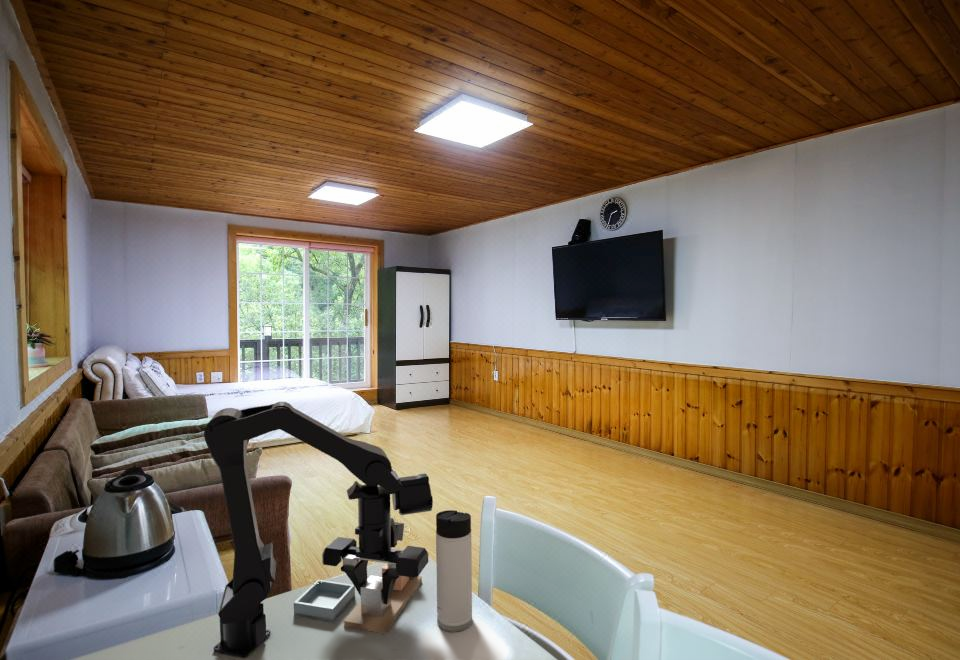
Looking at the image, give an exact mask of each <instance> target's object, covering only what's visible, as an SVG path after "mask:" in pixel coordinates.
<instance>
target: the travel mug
mask: <svg viewBox="0 0 960 660" xmlns="http://www.w3.org/2000/svg"><path fill="white" fill-rule="evenodd" d="M471 517H472V516H471V515H470V513H468V512H462V511H458V510H453V509H452V510H450V509H449V510H443V511H442V510H441V511H439V512H438V513H436V515H435V526H436V530H435V533H436V535H435V548H436V550H435V551H436V553H435V554H436V613H437V614H436V618H437V619H436V620H437V621H436V622H437V625H438V626H439V627H440V628H441V629H442V630H444V631H447V632H453V633H454V632H456V633H457V632H461V631H464V630H466V629H467V628H469V627H470V626H471V624H472V623H473V583H472V581H473V580H472V579H473V578H472V577H473V575H472V573H473V572H472V571H473V569H472V568H473V567H472V566H473V565H472V564H473V562H472V518H471Z"/></svg>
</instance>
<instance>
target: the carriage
mask: <svg viewBox="0 0 960 660" xmlns="http://www.w3.org/2000/svg"><path fill="white" fill-rule="evenodd" d="M360 601H361V614H364V615H371V616H377V617H382V616H383V615H384V613H385V612H386V610H387V609H388V608H389V606H390V605H391V598H390V601H389V603H388V604H385V602H384V597H383V583H382V577H381V576H377V575H370V576H369V577H367V580H366V582H365V583H364V584H363V585H362V586H361V596H360Z"/></svg>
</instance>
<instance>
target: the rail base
mask: <svg viewBox="0 0 960 660" xmlns="http://www.w3.org/2000/svg"><path fill="white" fill-rule="evenodd" d="M395 551H404V549H403V550H402V549H395V548H391V552H395ZM380 577H382V575H381V576H380ZM422 579H423V577H422V576H421V575H419V576H418V577H414V578H413V577H409V581H408V582H407V583H406V585H405V586H404V587H403V589H402V590H401V591H400V590H393V591H392V595H391V605H390V606H389V608H388V609H387V610H386V612H385V613H384V615H383V616H382V617H377V616H371V615H364V614H361V600H360V601H359V603H358V604H357V605H356V606H355V607H354V608H353V610H352V611H351V612H350V613H349V615H348V616H347V617H346V618H345V619H344V621H343V627H346V628H351V629H357V630H363V631H369V632H373V633H374V632H375V633H379V634H385V635H386V634H387V633H388V631H389V630H390V628H391V627H392V626H393V624H394V622H395V621H396V620H397V618H398V617H399V615H400V614H401V612H402V611H403V609H404V608H405V606H406V605H407V604H408V602H409V601H410V599H411V598H412V597H413V594H414V593H415V592H416V590H418V587H419V586H420V584H421V583H422Z"/></svg>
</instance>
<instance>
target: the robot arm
mask: <svg viewBox="0 0 960 660" xmlns="http://www.w3.org/2000/svg"><path fill="white" fill-rule="evenodd" d="M278 430H280V431H282V432H284V433H286V434H288V435H290V436H292V437H294V438H295V439H298V440H299V441H300V442H303V443H304V444H306V445H308V446H311V448H314V449H316V450H318V451H320V452H321V453H324V454H325V455H327V456H329V457H331V458H333V459H335V460H336V461H338V463H341V465H343V466H344V468H346V469H347V470H348V471H349V472H350V473H351V474H352V475H353V476H354V477H356V478H357V479H358V480H360V482H362V483H364V484H361V483H359V482H358V481H357V480H355V481H354V482H353V484H352V485H351V486H350V487H349V488H348V489H347V490H346V494H347V498H348V500H350V501H351V500H352V501H353V500H357V502H358V503H357V504H358V505H357V507H358V508H357V509H358V511H357V512H358V513H357V515H358V518H357V519H358V520H357V521H358V525H357V526H356V527H355V529H354V535H357V536H358V544H357V540H356V539H355V538H349V537H344V536H343V537H341V536H338V537H336V539H334V540H333V541H332V542H331V543H330V544H328V545H327V546H326V547H325V548H324V549H323V551H322V553H321V558H322V560H321V563H322V565H323V566H330V567H331V566H332V567H338V565H339V564H340V563H342V566H340V571H341V572H343V573H345V574H346V576H347V577H348V579H349V580H350V582H351V583H352V585H354V586H355V590H356V591H357V593H358V594H359V596H360V597H361V586H362V585H363V584H364V583H365V582H366V580H367V579H368V564H369V562H376V563H381V564H382V563H383V564H386V563H387V566H388V568H387V570H386V571H385V572H384V573H383V574H382V573H381V576H382V583H383V597H384V602H385V604H388V603H389V601H390V598H391V595H392V591H393V588H394V585H395V582H396V579H398V578H399V577H400V576H406V577H413V578H414V577H418V576H420V574H421V573H422V572H423V570H424V569H425V567H426V566H427V565H428V563H429V552H428V550H427V549H426V548H425V547H419V546H415V545H412V546H411V545H407V546H406V547H405V548H404V549H403V550H404V551H395V552H391V549H393V548H395V547H396V546H398V541H400V542H402V541H403V538H404V530H405V529H404V528H405V523H404V522H395V520H394V517H393V518H392V517H391V502H392V507H393V511H398V514H399V515H400V516H406V515H412V514H419V513H420V514H421V513H426V512H432V510H433V507H434V506H433V504H434V503H433V501H434V500H433V497H434V496H433V495H432V490H431V486H430V480H429V479H430V477H429V475H428V474H427V473H425V472H424V473H420V474H417V475H411V476H409V475H408V476H401V477H399V475H398V473H397V472H396V470H393V469H392V462H391V461H390V459H389V456H387V453H386V452H385V450H384V449H383V448H381V447H379V446H377V445H375V444H371V443H368V442H365V441H363V440H362V441H361V440H356V439H353V438H349V437H347V436H345V435H344V434H341V433H340V432H338V431H336V430H335V429H333V428H331V427H329V426H327V425H325V424H323V423H322V422H320V421H319V420H316V419H315V418H313V417H311V416H310V415H307V414H306V413H304V412H302V411H300V410H299V409H296V408H295V407H293V405H291V404H290V403H288V401H287V402H286V401H277V402H275V403H272V404H266V405H261V406H260V405H259V406H253V407H247V408H243V409H238V408H234V407H226V408H222V409H220V410H218V411H217V412H216V413H215V414H214V415H212V418H210V420H209V421H208V423H207V424H206V425H205V428H204V432H203V439H204V441H205V443H206V446H207V448H208V452H209V454H210V457H211V458H212V460H213V461H214V464H216V466H217V468H218V470H219V472H220V477H221V482H222V488H223V489H222V490H223V495H224V501H225V505H226V512H227V517H228V522H229V527H230V534H231V539H232V545H233V549H234V554H233V556H234V557H233V571H232V578H231V579H230V581H229V582H228V583H226V584H225V587H224V590H223V594H222V598H221V601H220V602H221V603H220V606H219V610H218V613H217V614H218V617H219V634H220V635H219V637H220V638H219V639H220V641H219V642H218V643H217V644H215V646H214V647H213V652H216V653H220V654H226V655H230V656H235V657H241V658H246V657H248V656H249V655H250V654H251V653H252V652H254V650H255V649H257V648H258V646H260V644H262V643H263V642H264V641H265V640H266V638H267V637H269V636H270V635H271V632H272V631H271V629H268V628H267V619H266V613H264V611H265V610H264V600H265V601H266V599H267V598H268V596H269V595H270V593H271V588H272V583H275V580H276V569H277V561H276V559H275V558H274V555H273V542H270V543H268V544H264V543H263V541H262V540H261V537H260V533H259V528H258V523H257V522H258V521H257V516H256V509H255V505H254V499H253V492H252V486H251V482H250V475H249V470H248V464H247V451H248V440H251V439H254V438H258V437H260V436H262V435H266V434H268V433H271V432H274V431H278ZM391 499H392V501H391ZM357 545H358V547H357ZM262 602H263V603H262Z"/></svg>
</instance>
